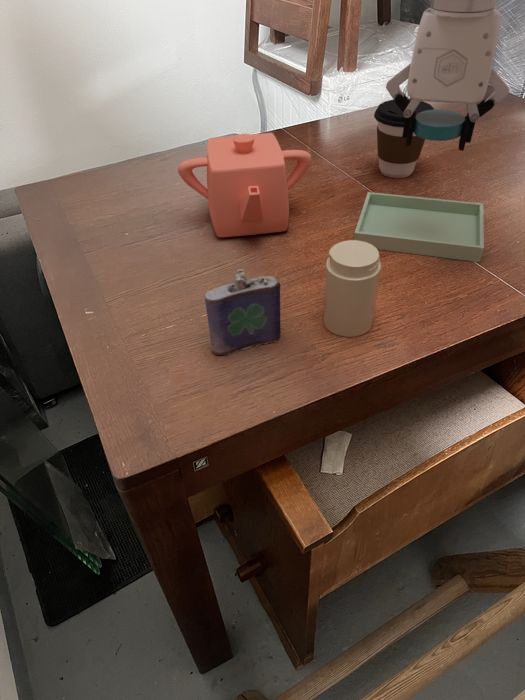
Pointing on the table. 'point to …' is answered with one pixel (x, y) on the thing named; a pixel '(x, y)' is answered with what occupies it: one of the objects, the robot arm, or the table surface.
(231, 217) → the teapot
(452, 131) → the lid
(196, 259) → the table surface
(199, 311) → the table surface
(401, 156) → the coffee cup
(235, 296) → the flask
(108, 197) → the table surface
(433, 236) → the tray
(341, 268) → the jar
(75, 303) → the table surface
